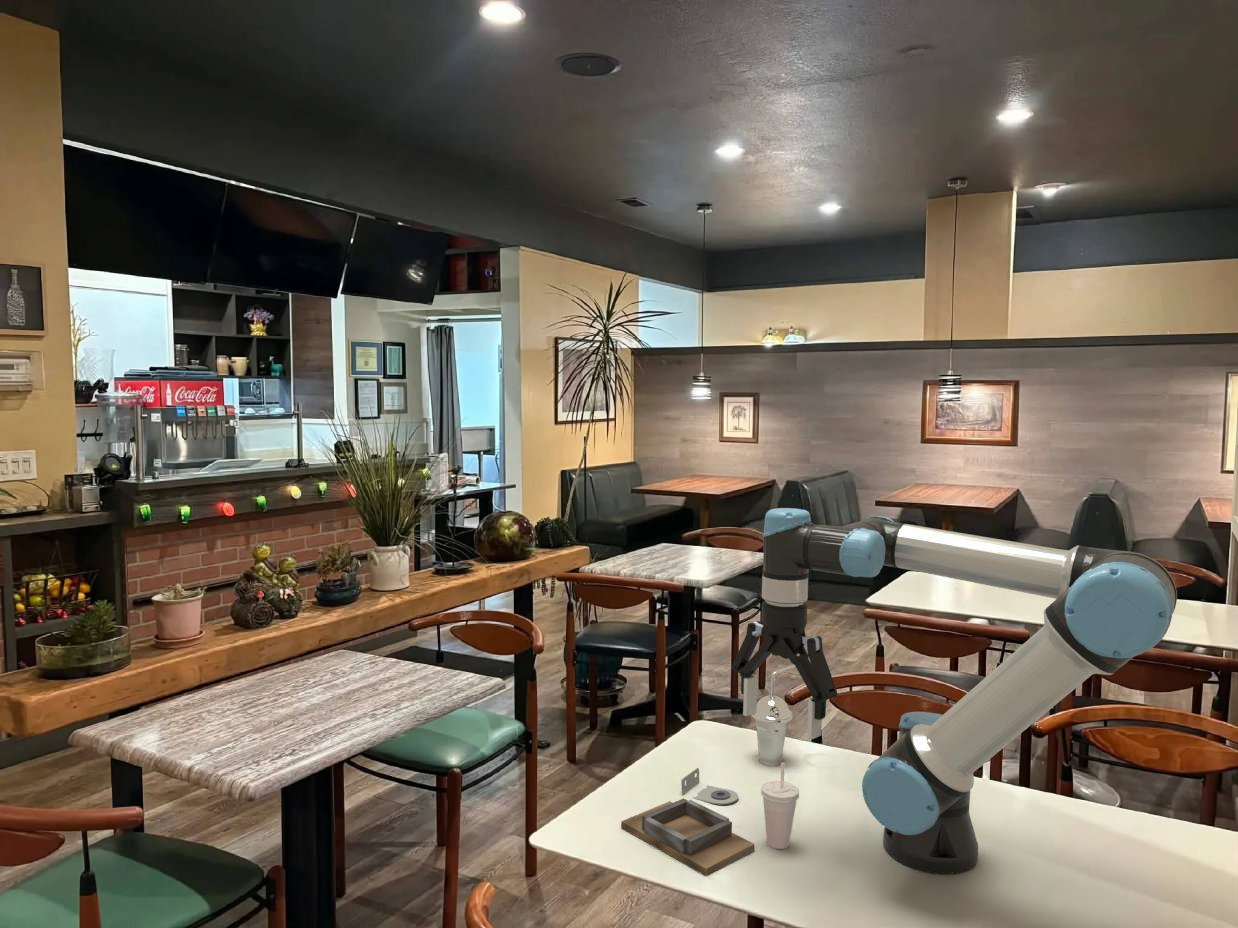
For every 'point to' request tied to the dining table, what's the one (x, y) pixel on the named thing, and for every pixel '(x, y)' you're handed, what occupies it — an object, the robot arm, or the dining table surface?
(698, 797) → the grey arched plates
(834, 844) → the dining table surface
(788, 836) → the smoothie
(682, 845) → the keeper board
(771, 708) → the domed lid cup
